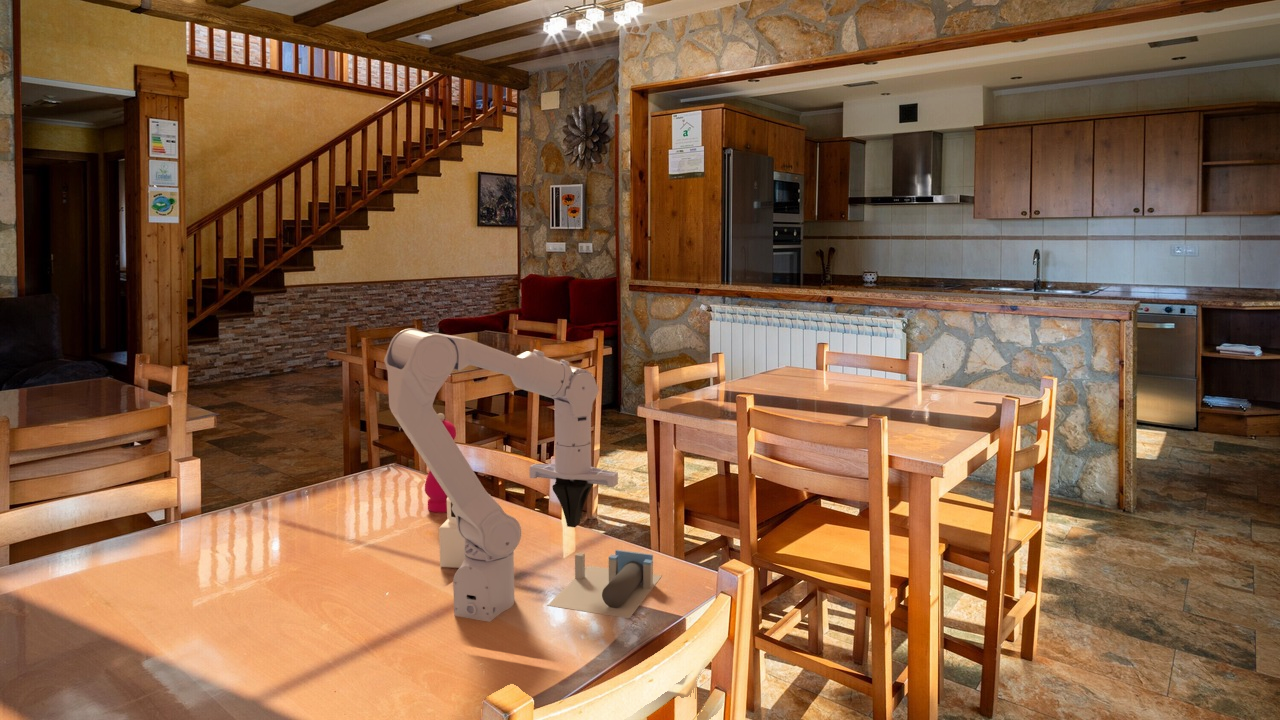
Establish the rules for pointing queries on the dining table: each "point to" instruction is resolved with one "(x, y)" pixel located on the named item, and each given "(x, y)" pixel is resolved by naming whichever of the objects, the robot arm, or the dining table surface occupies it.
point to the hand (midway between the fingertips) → (573, 525)
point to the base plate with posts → (593, 580)
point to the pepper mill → (431, 485)
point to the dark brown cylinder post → (623, 584)
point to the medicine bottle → (451, 541)
